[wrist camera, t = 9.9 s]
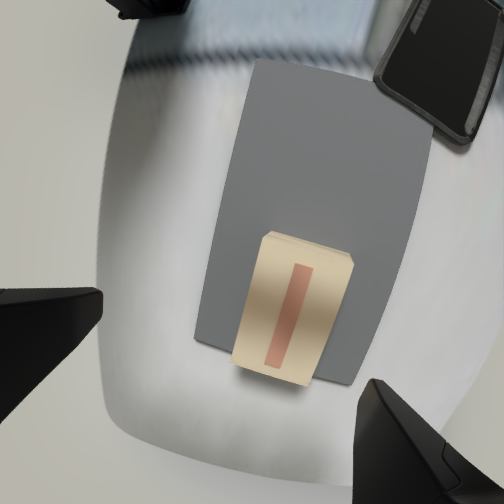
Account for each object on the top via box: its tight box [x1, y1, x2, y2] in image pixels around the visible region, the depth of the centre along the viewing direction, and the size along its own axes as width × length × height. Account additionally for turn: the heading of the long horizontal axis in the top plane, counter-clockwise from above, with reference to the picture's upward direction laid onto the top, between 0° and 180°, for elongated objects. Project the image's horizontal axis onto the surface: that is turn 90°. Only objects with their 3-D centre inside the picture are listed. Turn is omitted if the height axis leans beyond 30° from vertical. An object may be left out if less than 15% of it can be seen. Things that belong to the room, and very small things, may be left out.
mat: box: [194, 58, 434, 385], centre depth 19 cm, size 20×12×1 cm, turn 166°
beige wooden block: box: [230, 231, 354, 387], centre depth 18 cm, size 8×5×3 cm, turn 166°
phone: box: [373, 0, 504, 145], centre depth 14 cm, size 8×1×15 cm
